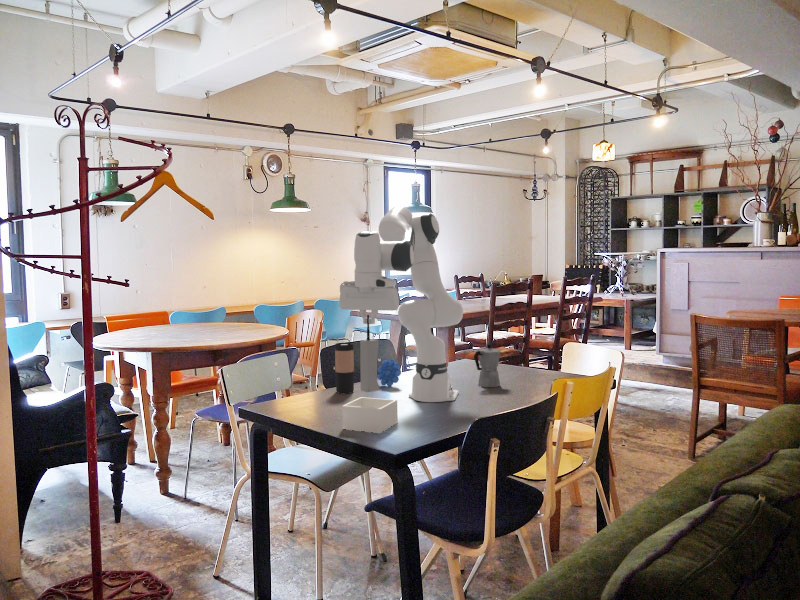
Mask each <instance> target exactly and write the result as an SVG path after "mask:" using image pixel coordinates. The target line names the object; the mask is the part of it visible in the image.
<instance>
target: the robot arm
mask: <svg viewBox="0 0 800 600" xmlns="http://www.w3.org/2000/svg"><path fill="white" fill-rule="evenodd" d="M439 234H440V225H439V221H438V220H437V217H436V216H435V215H433V214H432V213H430V212H426V213H421V214H419V215H414V216H413V214H412V212H411V210H410V209H409V208H407V207H406V206H403V205H396V206H394V207H393V208H391V209H390V210H388V211H387V212H386V214H385V215H383V217H382V218H381V220H380V222H379V225H378V231H374V230H371V231H370V230H367V231H365V230H364V231H360V232H358V233H357V234H356V235H355V240H354V248H353V250H354V251H353V252H354V253H353V257H354V259H353V260H354V262H355V263H354V264H355V268H354V280H353V281H348V280H347V281H346V280H345V281H343V282H342V283H341V284H340V285H339V293H340V295H339V299H338V300H339V305H338V306H339V307H340V310H354V311H356V310H357V311H358V310H359V315H360V317H361V318H362V323H363V325H367V315H366V313H367V311H371V313H370V314H371V316H370V317H369V325H374V324H375V323H376V321H375V320H376V318H377V315H379V311H392V312H393V311H397V317H398V320H399V323H400V325H402V326H403V327H404V328H406V329H407V330H408V331H409V333H410V334H411V335H412V337H413V339H414V341H415V347H416V363H415V374H414V375H413V376H412V389H411V393H409V394H408V398H409V399H410V398H411V399H413V400H415V401H418V402H423V403H440V402H441V403H442V402H449V401H450V402H451V401H455V400H456V399H457V397H458V395H459V389H455V388H454V381H453V378H452V377H451V375H450V374H449V373H448V367H449V361H446V344H445V341H444V340H443V339H442V338H440V337H438V336H436V335H434V334H433V333H432V330H431V328H442V327H443V328H447V327H451V326H452V327H453V326H456V325H458V324H459V323H460V322H461V321H462V320H463V316H464V308H463V306H462V304H461V302H460V301H459V300H458V299H456V298H455V297H453V296H451V294H450V293H449V292H448V291H447V290H446V288H445V287H444V285H443V283H442V279H441V274H440V268H439V261H438V258H437V253H436V250H435V247H434V244H435V243H436V239H437V238H438V236H439ZM381 240H383V241H381ZM408 270H410V274H411V281H412V286H413V288H414V289H415V290H416V291H417V292H419V293H420V294H422V295H424V296H426V298H425V299H412V300H407V301H403V302H402V303H401V304H400V301H399V300H400V297H399V291H398V289H397V288H396V285H397V282H396V279H392V278H390V277H387V276H384V275H383V273H382V271H397V272H407V271H408Z"/></svg>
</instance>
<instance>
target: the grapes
mask: <svg viewBox="0 0 800 600" xmlns="http://www.w3.org/2000/svg"><path fill="white" fill-rule="evenodd" d="M401 374H402V371H401V369H400V363H399V362H398V361H397V362H395V359H393V358H389V360H383V361H382V362H381V365H379V366H377V380H380V384H381V386H387V387H389V386H390V387H392V386H393V385H394V384H397V383H398V382H399V377H400V376H401Z"/></svg>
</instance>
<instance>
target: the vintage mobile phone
mask: <svg viewBox="0 0 800 600" xmlns="http://www.w3.org/2000/svg"><path fill="white" fill-rule="evenodd" d="M366 317H367V324H366V326H367V327H366V328H367V329H366V339H361V340H360V341H359V342H360V343H359V347H360V348H359V353H360V356H359V357H360V360H359V361H360V362H359V363H360V365H359V366H360V391H361V392H365V393H373V392H379V391H380V385H379V382H378V378H377V375H378V356H379V348H380V347H379V346H380V339H375V338H370V324H369V318H370V315H369V314H367V315H366Z"/></svg>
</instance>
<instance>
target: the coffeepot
mask: <svg viewBox="0 0 800 600" xmlns="http://www.w3.org/2000/svg"><path fill="white" fill-rule="evenodd" d="M486 346H487V347H486V348H482V349H479V350H476V351H475V353H474V355H473V358H474V359H473V360H474V362H475V366H476V370H478V371H480V373H479V377H478V386H479V387H480V386H481V387H480V388H485V387H495V388H499V387H500V385H501V383H500V376H499V371H498V366H499V363H500V358H501V357H500V356H501V350H500V349H496V348H491V347H492V345H491V343H488V344H486ZM498 386H499V387H498Z"/></svg>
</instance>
